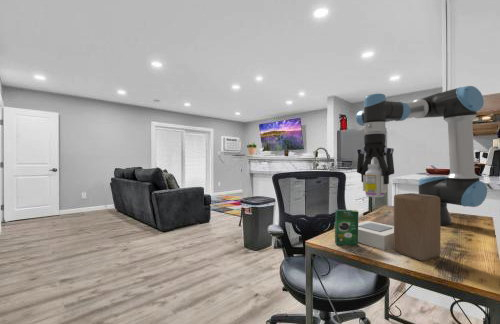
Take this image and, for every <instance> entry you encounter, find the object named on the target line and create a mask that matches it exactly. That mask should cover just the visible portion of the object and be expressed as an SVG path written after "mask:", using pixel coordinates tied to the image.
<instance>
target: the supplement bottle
mask: <svg viewBox="0 0 500 324" xmlns="http://www.w3.org/2000/svg"><path fill="white" fill-rule="evenodd" d="M368 168H369V169H368V171H366V172H365V191H364V192H365V196H366V197H369V198H383V197H385V193H381V176H383V173H382V170H381V167H380V164H379V163H376V164H371V163H370V164H368Z"/></svg>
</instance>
